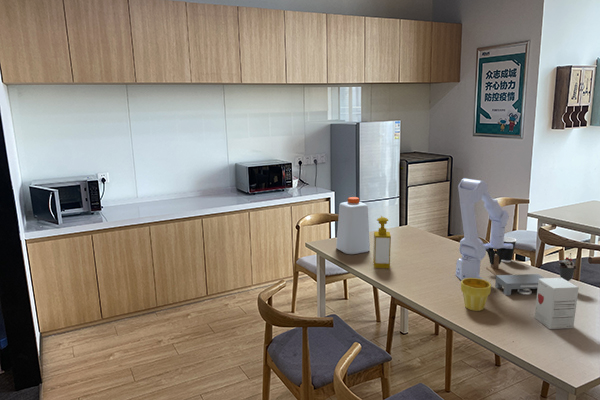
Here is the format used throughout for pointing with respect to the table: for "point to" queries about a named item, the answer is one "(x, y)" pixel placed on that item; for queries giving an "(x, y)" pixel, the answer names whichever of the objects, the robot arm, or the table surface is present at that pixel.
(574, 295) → the supplement box
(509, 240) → the dixie cup
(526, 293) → the steel disc
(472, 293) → the plant pot
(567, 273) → the sundae
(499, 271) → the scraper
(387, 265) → the soap bottle
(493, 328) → the table surface
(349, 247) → the plastic bottle
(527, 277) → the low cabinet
